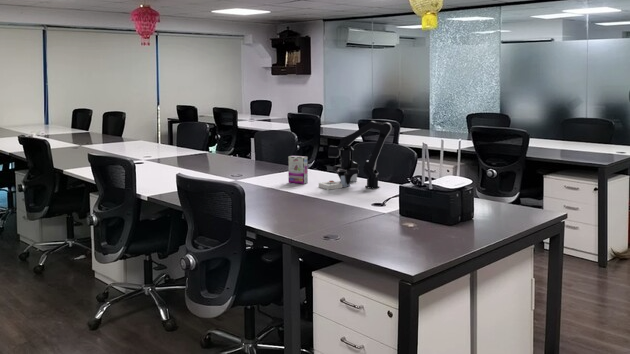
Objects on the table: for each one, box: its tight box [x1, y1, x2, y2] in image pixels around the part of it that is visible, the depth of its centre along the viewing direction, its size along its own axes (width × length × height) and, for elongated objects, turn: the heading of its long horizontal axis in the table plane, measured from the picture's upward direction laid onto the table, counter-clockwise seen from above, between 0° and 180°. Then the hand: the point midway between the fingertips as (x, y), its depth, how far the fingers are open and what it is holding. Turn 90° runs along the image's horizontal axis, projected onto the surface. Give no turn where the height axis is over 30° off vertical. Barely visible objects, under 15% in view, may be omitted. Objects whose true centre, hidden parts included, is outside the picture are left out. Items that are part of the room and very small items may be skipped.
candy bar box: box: [287, 155, 309, 185], centre depth 356 cm, size 11×5×16 cm, turn 62°
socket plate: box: [318, 180, 343, 191], centre depth 344 cm, size 10×10×3 cm
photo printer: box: [346, 161, 358, 182], centre depth 363 cm, size 10×4×12 cm, turn 98°
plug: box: [340, 173, 351, 188], centre depth 348 cm, size 4×4×8 cm
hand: (345, 183), depth 348 cm, fingers open, 5 cm apart
